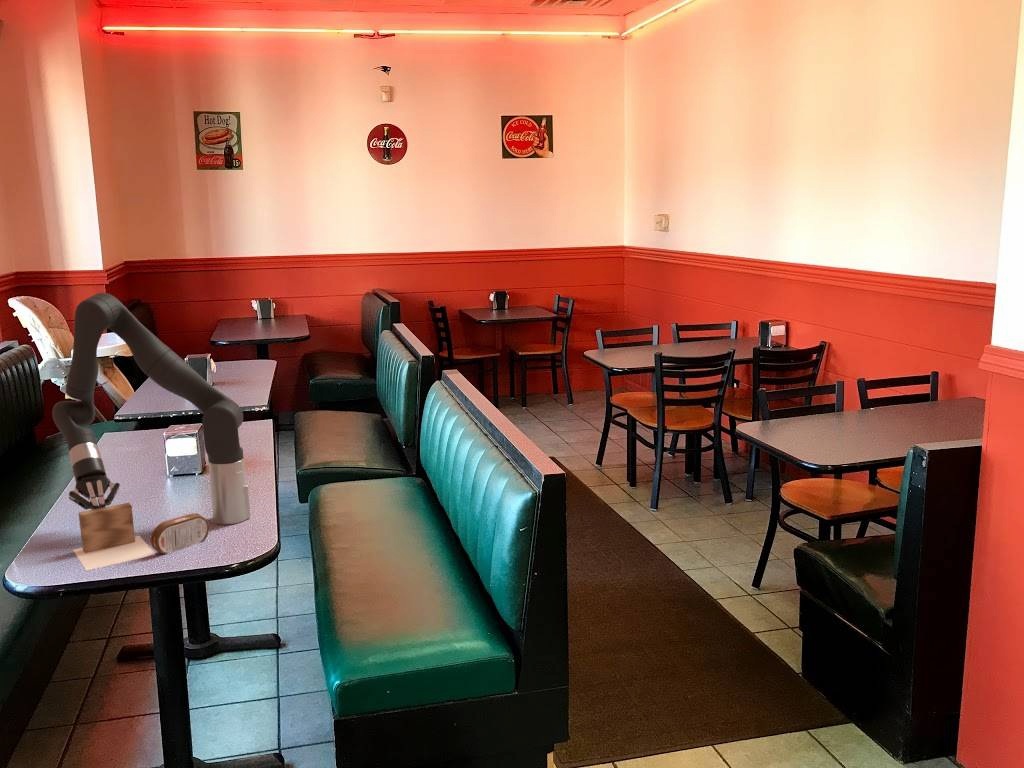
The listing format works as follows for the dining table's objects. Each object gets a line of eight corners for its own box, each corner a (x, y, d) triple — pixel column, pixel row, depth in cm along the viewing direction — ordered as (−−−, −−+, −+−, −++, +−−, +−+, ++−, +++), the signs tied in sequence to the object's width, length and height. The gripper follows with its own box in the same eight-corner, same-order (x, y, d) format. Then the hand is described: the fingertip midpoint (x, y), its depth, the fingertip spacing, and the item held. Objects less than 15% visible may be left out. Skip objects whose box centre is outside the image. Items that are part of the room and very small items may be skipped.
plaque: (132, 538, 232) (128, 502, 230) (135, 542, 230) (131, 505, 228) (82, 549, 225) (78, 512, 223) (84, 553, 223) (80, 515, 221)
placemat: (139, 537, 235) (139, 535, 234) (155, 556, 222) (155, 554, 222) (73, 551, 225) (72, 549, 225) (86, 572, 213) (86, 570, 213)
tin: (205, 539, 233) (202, 508, 232) (212, 541, 231) (209, 511, 230) (151, 557, 222) (148, 525, 220) (158, 560, 220) (155, 527, 218)
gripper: (60, 460, 232) (75, 518, 225) (114, 452, 240) (130, 507, 232) (59, 475, 237) (73, 532, 230) (112, 466, 245) (127, 521, 238)
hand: (102, 519), depth 231 cm, fingers closed
